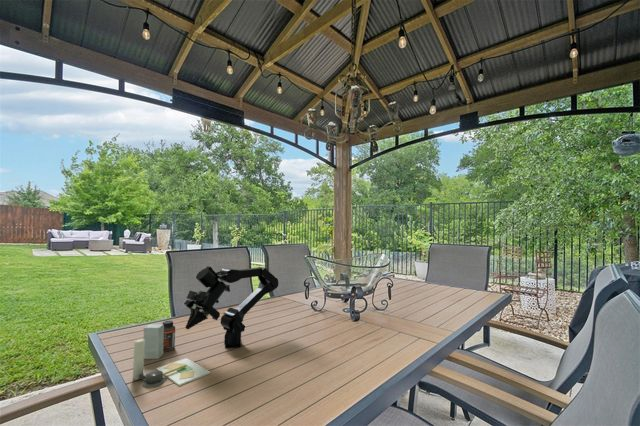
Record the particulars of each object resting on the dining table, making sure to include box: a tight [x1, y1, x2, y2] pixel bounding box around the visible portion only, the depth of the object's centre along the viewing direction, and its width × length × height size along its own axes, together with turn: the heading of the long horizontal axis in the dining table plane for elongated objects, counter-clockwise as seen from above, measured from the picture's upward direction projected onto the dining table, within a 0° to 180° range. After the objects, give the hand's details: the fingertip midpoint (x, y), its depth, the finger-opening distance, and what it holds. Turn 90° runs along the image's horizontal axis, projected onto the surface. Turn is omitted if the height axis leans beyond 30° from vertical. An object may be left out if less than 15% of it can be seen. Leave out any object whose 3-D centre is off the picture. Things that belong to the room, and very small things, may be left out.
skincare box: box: [143, 323, 164, 360], centre depth 117 cm, size 6×4×12 cm
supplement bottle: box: [162, 319, 176, 352], centre depth 125 cm, size 6×6×11 cm
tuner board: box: [141, 357, 211, 388], centre depth 103 cm, size 18×17×1 cm
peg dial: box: [132, 338, 187, 384], centre depth 102 cm, size 11×15×12 cm
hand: (186, 328), depth 113 cm, fingers closed
